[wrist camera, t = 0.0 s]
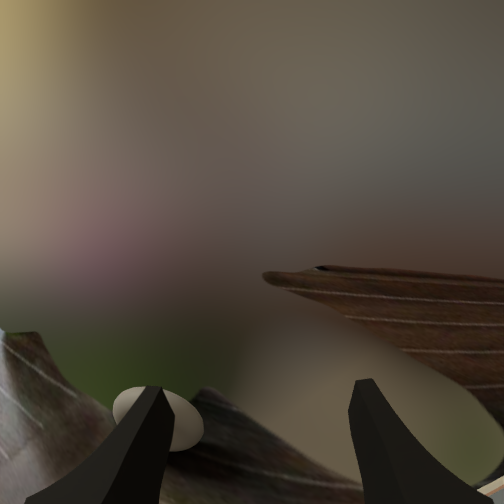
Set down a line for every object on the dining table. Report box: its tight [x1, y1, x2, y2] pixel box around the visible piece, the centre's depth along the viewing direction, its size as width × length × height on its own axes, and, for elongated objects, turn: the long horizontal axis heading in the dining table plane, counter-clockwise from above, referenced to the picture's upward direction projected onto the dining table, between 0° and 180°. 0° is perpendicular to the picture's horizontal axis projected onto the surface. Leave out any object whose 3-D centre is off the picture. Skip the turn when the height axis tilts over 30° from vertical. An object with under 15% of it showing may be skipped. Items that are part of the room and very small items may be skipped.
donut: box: [113, 387, 204, 451], centre depth 27 cm, size 10×4×10 cm, turn 89°
